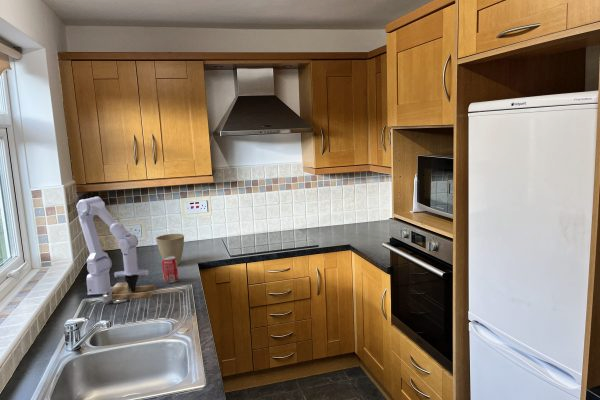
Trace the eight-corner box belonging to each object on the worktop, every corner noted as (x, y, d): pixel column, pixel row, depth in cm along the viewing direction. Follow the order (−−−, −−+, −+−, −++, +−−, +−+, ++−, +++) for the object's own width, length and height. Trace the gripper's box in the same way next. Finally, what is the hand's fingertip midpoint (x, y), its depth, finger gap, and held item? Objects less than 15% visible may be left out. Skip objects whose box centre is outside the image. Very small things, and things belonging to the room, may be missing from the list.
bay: (109, 299, 200) (108, 293, 200) (116, 291, 210) (115, 285, 210) (151, 297, 202) (150, 290, 201) (156, 289, 212) (155, 283, 211)
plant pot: (188, 260, 258) (186, 232, 255) (183, 268, 243) (181, 239, 240) (161, 261, 257) (159, 234, 254) (155, 269, 242) (152, 240, 239)
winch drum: (102, 304, 195) (101, 293, 194) (105, 300, 199) (104, 290, 198) (111, 303, 196) (110, 293, 195) (114, 300, 200) (113, 289, 199)
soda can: (172, 278, 227) (171, 255, 225) (181, 280, 222) (179, 257, 220) (160, 282, 221) (158, 258, 220) (169, 284, 217) (167, 260, 215)
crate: (113, 298, 202) (112, 287, 201) (118, 293, 208) (116, 282, 207) (128, 297, 203) (126, 286, 202) (131, 292, 209) (130, 281, 208)
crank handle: (113, 304, 195) (112, 298, 195) (113, 303, 196) (112, 297, 196) (129, 301, 198) (129, 296, 197) (129, 300, 199) (129, 295, 199)
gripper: (110, 265, 199) (114, 295, 201) (144, 263, 200) (147, 293, 202) (115, 261, 206) (118, 289, 208) (148, 259, 207) (151, 287, 209)
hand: (133, 291), depth 206 cm, fingers closed
